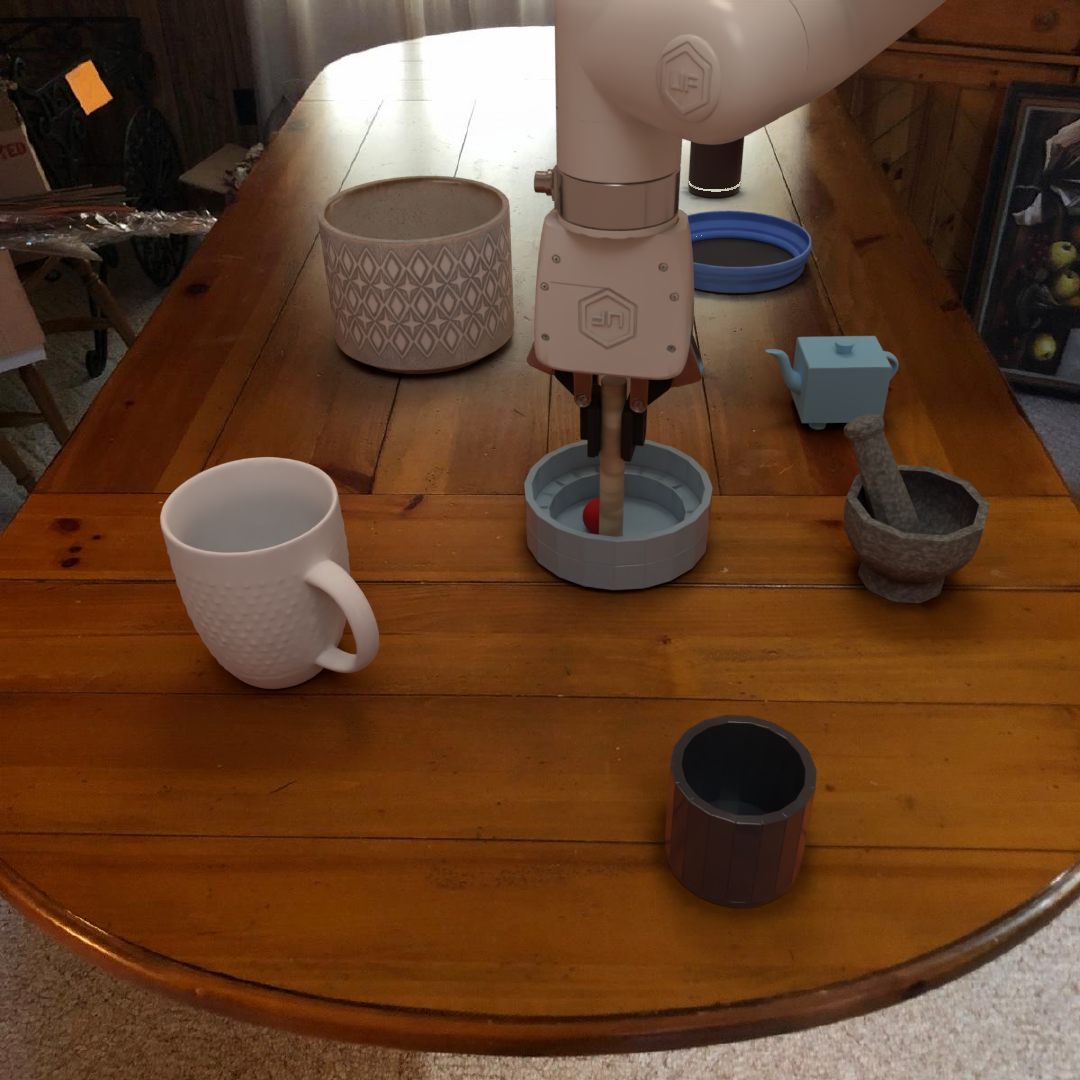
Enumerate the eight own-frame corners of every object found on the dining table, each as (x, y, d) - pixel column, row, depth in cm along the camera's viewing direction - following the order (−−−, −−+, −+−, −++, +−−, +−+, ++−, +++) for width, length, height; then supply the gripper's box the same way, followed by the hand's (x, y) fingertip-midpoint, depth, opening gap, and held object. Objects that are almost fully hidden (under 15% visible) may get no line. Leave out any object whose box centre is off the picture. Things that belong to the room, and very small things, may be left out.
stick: (624, 538, 84) (629, 374, 76) (620, 552, 82) (625, 387, 74) (601, 536, 84) (603, 372, 76) (597, 550, 83) (598, 384, 75)
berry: (632, 508, 86) (606, 483, 85) (624, 532, 84) (597, 506, 83) (605, 525, 88) (579, 500, 87) (596, 549, 86) (570, 523, 85)
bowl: (800, 238, 136) (804, 210, 134) (815, 299, 121) (819, 268, 119) (654, 236, 137) (655, 208, 135) (652, 296, 123) (653, 266, 121)
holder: (804, 809, 64) (819, 726, 60) (796, 921, 58) (812, 837, 54) (675, 787, 66) (681, 704, 62) (655, 893, 60) (660, 809, 56)
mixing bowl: (717, 499, 91) (721, 447, 88) (694, 607, 80) (698, 552, 77) (550, 479, 94) (549, 428, 91) (505, 581, 82) (503, 527, 80)
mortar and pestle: (992, 575, 82) (1031, 437, 75) (931, 637, 76) (966, 494, 69) (858, 517, 88) (882, 384, 81) (793, 570, 83) (813, 433, 76)
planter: (374, 400, 105) (355, 257, 97) (313, 327, 119) (292, 195, 110) (545, 356, 112) (542, 218, 103) (470, 291, 125) (462, 164, 117)
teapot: (762, 432, 99) (771, 357, 94) (753, 399, 104) (761, 326, 99) (897, 430, 99) (912, 355, 94) (881, 397, 103) (894, 324, 99)
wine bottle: (678, 186, 152) (690, -58, 134) (721, 178, 154) (739, -63, 137) (705, 202, 147) (722, -50, 129) (749, 193, 149) (772, -55, 131)
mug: (437, 664, 75) (421, 508, 68) (324, 764, 68) (291, 603, 60) (285, 587, 82) (254, 438, 75) (168, 671, 75) (120, 516, 68)
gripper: (477, 207, 66) (492, 465, 77) (741, 225, 63) (717, 491, 74) (510, 168, 72) (519, 412, 83) (753, 182, 69) (729, 435, 80)
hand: (612, 448), depth 78 cm, fingers closed on stick, 1 cm apart
